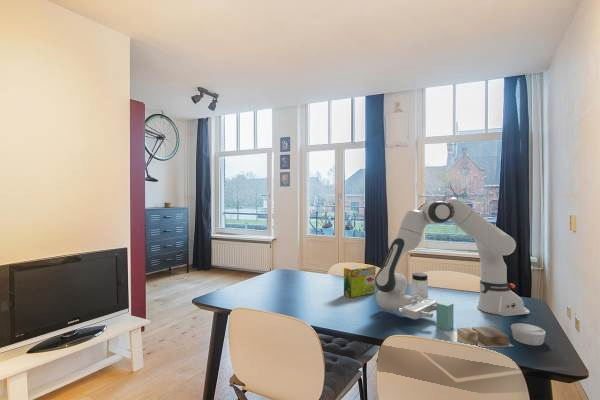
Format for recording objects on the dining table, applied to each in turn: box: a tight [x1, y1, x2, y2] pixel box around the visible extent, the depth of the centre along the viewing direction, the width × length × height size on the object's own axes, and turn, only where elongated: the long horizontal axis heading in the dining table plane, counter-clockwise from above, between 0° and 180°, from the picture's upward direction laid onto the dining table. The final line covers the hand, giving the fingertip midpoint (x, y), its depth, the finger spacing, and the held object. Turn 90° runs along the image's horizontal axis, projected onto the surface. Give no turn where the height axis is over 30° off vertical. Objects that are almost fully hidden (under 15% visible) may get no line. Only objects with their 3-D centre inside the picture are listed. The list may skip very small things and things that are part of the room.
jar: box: [411, 272, 429, 298], centre depth 191 cm, size 9×8×12 cm
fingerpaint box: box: [343, 264, 377, 298], centre depth 195 cm, size 19×7×16 cm, turn 122°
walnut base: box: [471, 326, 510, 347], centre depth 131 cm, size 9×9×4 cm
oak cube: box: [456, 326, 478, 346], centre depth 128 cm, size 5×5×5 cm
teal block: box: [435, 300, 454, 331], centre depth 144 cm, size 5×5×11 cm
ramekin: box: [510, 322, 546, 346], centre depth 131 cm, size 11×11×5 cm
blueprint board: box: [443, 331, 514, 348], centre depth 133 cm, size 20×14×1 cm
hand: (437, 313), depth 147 cm, fingers open, 8 cm apart
